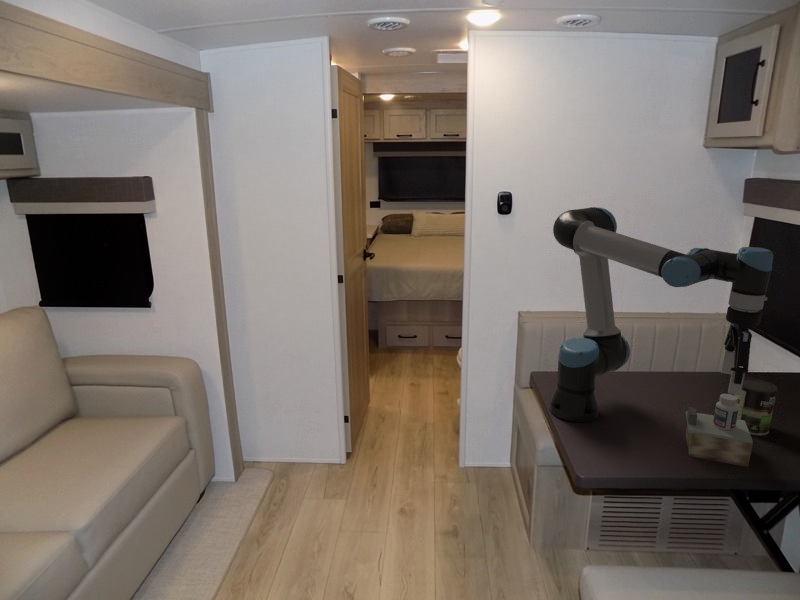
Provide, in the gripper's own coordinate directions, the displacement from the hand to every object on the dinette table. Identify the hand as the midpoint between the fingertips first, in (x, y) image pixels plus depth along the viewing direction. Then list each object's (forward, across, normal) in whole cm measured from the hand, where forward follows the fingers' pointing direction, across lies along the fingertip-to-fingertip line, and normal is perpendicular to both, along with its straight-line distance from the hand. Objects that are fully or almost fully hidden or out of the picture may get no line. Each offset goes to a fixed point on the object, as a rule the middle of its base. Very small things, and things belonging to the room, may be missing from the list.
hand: (730, 383), depth 141 cm
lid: (+14, 0, +1) cm, 14 cm away
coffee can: (+21, +19, -11) cm, 30 cm away
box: (+21, 0, 0) cm, 21 cm away
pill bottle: (+13, 0, 0) cm, 13 cm away
